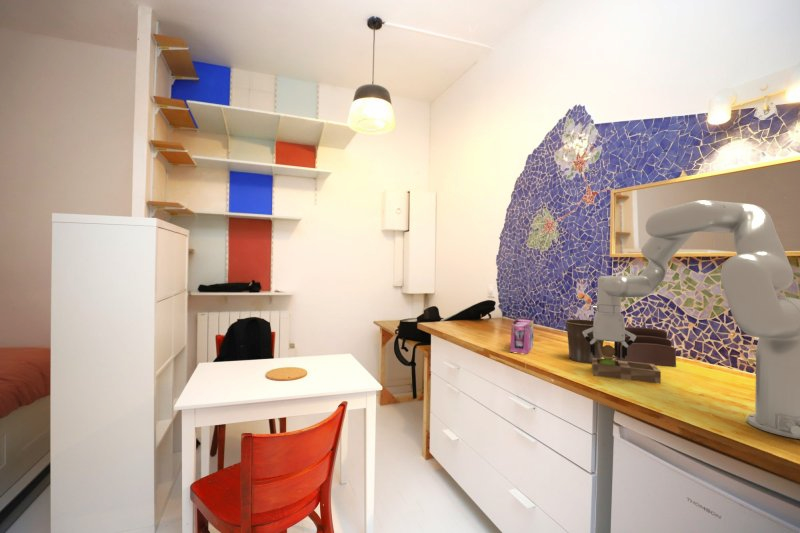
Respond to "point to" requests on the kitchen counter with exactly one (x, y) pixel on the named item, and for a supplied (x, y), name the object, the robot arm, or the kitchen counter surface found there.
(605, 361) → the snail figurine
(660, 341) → the letter holder
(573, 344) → the plant pot
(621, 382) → the kitchen counter surface
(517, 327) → the gum box
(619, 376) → the brown wooden flat frame
